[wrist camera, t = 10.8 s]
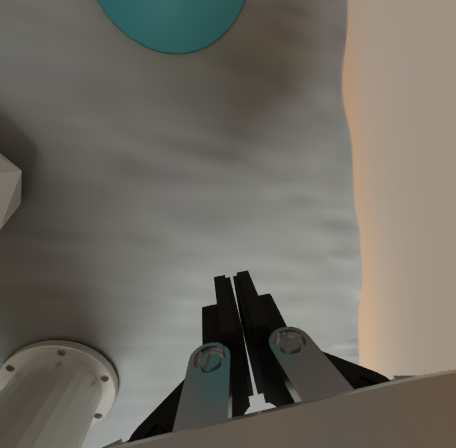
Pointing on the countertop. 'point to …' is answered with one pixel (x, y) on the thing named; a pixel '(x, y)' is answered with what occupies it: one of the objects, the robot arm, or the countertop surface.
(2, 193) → the die
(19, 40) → the countertop surface
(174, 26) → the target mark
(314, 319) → the countertop surface
